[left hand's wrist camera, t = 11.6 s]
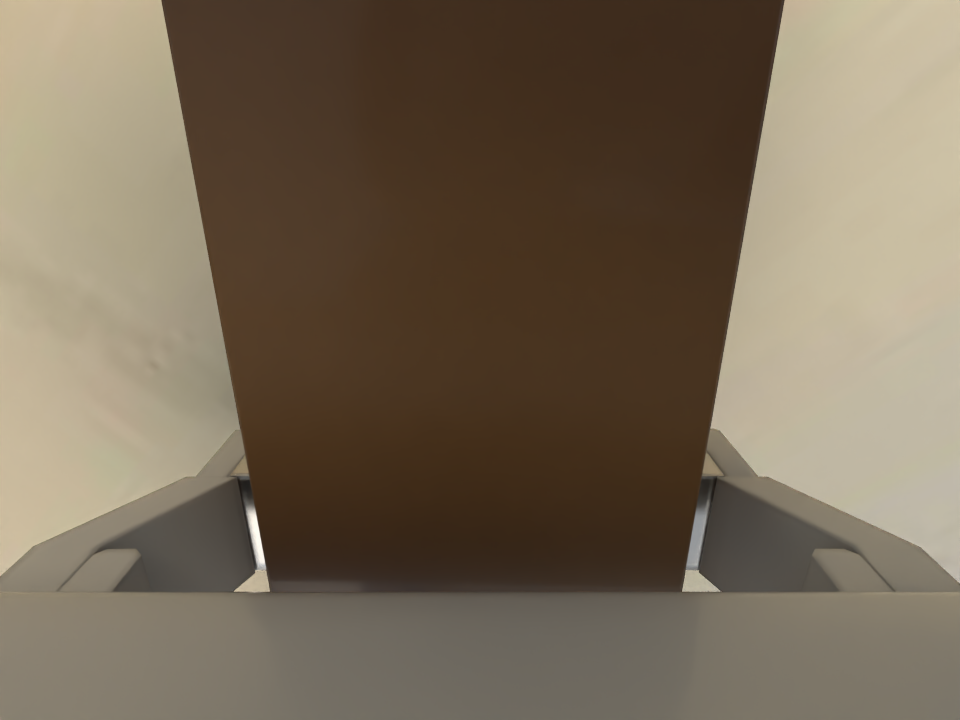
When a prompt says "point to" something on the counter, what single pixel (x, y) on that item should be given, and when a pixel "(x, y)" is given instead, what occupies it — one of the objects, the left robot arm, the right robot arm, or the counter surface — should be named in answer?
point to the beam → (474, 275)
